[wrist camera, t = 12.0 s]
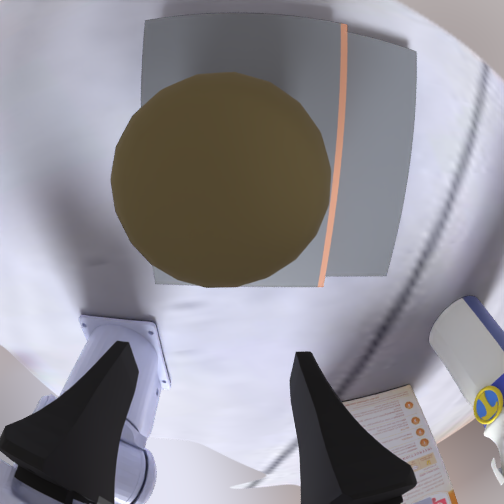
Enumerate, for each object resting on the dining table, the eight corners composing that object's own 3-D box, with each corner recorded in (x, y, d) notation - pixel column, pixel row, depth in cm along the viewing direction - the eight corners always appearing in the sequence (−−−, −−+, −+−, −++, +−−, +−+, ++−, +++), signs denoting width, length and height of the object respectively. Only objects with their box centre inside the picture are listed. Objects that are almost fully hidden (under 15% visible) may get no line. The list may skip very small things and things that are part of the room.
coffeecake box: (297, 433, 33) (313, 559, 16) (296, 408, 30) (317, 559, 13) (398, 410, 33) (436, 521, 15) (411, 382, 30) (462, 509, 12)
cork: (160, 126, 14) (28, 158, 5) (257, 73, 13) (282, -11, 3) (214, 214, 17) (175, 358, 7) (307, 167, 16) (403, 259, 6)
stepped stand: (380, 268, 22) (393, 285, 19) (164, 265, 21) (155, 283, 19) (407, 53, 14) (427, 48, 12) (157, 31, 14) (145, 20, 11)
